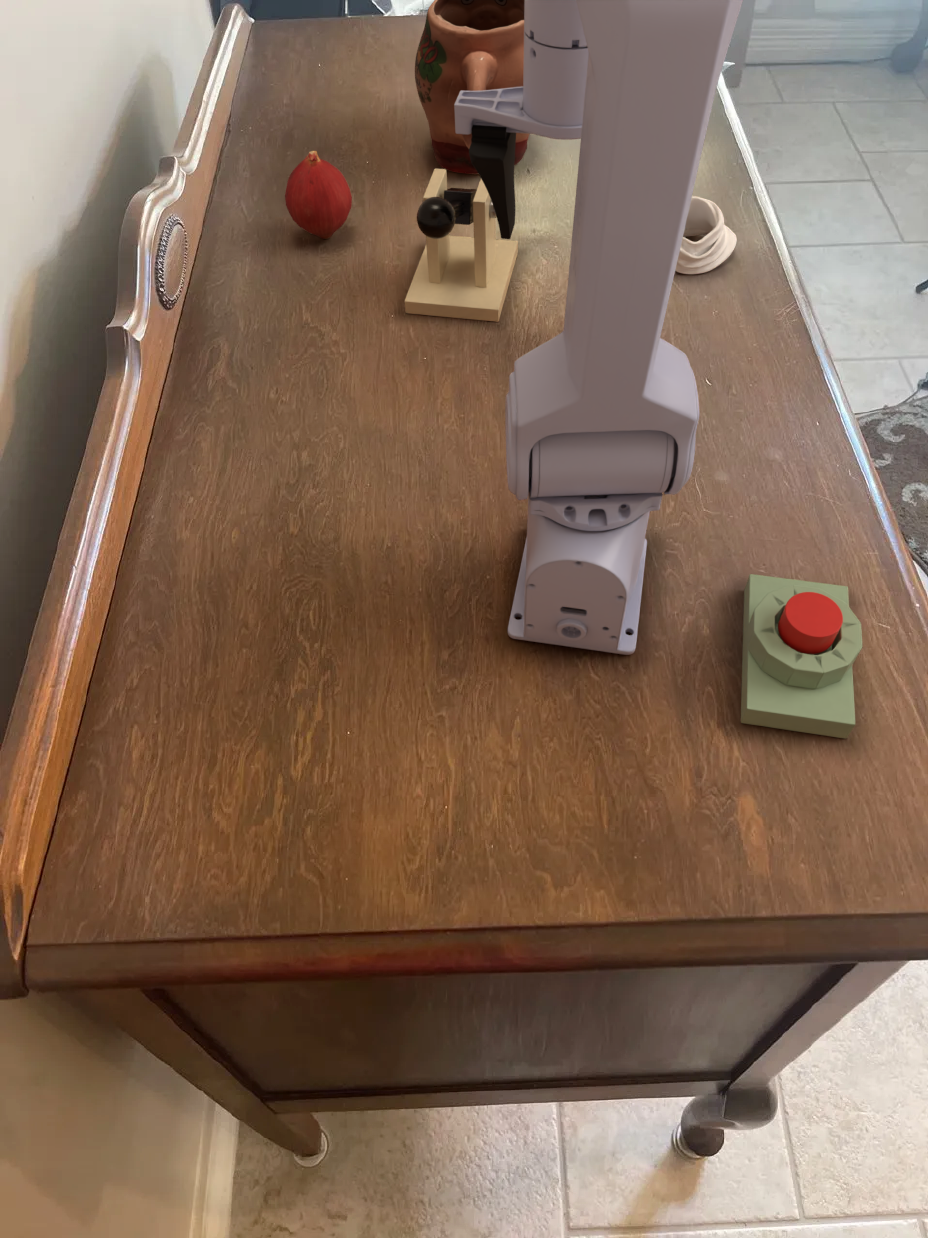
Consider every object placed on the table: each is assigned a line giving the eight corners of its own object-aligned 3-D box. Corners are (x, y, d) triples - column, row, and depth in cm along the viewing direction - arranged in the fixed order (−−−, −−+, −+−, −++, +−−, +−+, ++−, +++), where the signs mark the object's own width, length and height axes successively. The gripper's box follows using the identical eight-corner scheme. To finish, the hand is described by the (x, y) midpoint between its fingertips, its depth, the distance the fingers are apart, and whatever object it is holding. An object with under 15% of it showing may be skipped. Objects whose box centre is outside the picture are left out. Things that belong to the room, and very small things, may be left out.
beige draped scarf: (723, 239, 84) (737, 185, 80) (740, 277, 79) (755, 222, 76) (636, 238, 83) (646, 183, 80) (648, 275, 79) (659, 220, 75)
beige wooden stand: (498, 321, 77) (498, 223, 69) (405, 313, 78) (395, 215, 71) (517, 252, 82) (519, 155, 75) (430, 245, 83) (423, 148, 76)
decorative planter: (553, 213, 86) (561, 51, 74) (423, 220, 86) (411, 60, 74) (534, 108, 97) (538, -45, 86) (419, 115, 97) (408, -38, 86)
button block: (847, 739, 53) (867, 708, 50) (739, 723, 54) (752, 692, 51) (840, 602, 59) (858, 567, 56) (743, 589, 60) (755, 555, 57)
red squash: (281, 245, 84) (262, 159, 78) (315, 213, 87) (300, 128, 81) (334, 261, 82) (320, 174, 76) (368, 228, 85) (357, 141, 79)
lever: (450, 242, 66) (451, 199, 64) (412, 239, 66) (413, 196, 65) (479, 224, 76) (481, 186, 75) (446, 221, 76) (447, 184, 75)
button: (835, 657, 53) (844, 640, 51) (777, 649, 53) (785, 632, 52) (833, 613, 54) (842, 595, 53) (777, 606, 55) (785, 588, 53)
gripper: (696, 5, 57) (665, 213, 68) (467, -5, 59) (472, 198, 70) (689, 57, 53) (657, 268, 64) (443, 44, 55) (453, 250, 66)
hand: (560, 235), depth 67 cm, fingers open, 7 cm apart
